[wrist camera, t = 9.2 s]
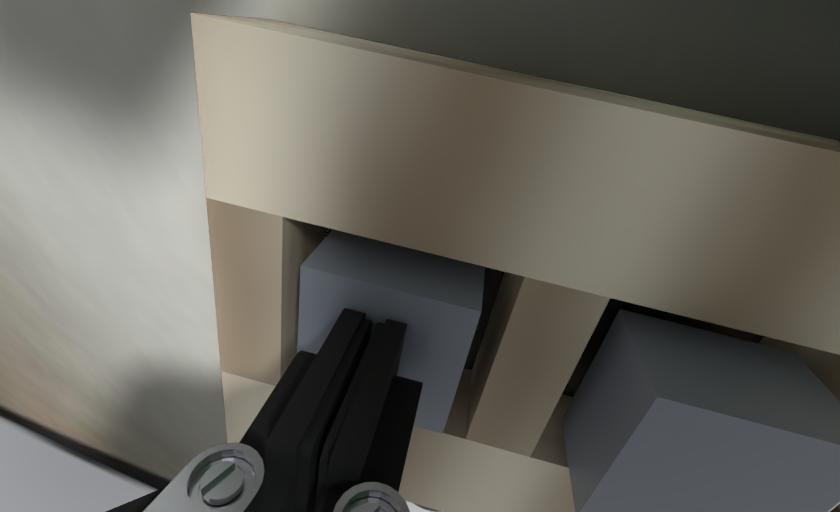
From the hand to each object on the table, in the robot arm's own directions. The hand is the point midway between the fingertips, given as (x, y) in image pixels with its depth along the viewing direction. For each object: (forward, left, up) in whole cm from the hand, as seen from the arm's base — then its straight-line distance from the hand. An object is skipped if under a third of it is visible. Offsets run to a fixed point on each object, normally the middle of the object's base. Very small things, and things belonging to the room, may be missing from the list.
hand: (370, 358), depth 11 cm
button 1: (0, 0, -3) cm, 3 cm away
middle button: (-8, 0, -2) cm, 8 cm away
